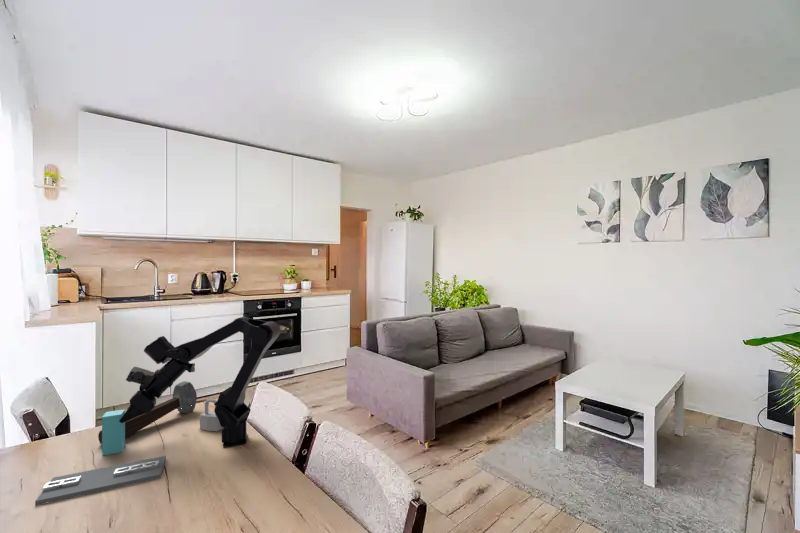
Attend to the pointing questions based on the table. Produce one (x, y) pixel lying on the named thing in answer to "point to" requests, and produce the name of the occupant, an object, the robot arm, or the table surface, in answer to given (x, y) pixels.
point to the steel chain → (117, 473)
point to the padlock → (209, 418)
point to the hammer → (163, 409)
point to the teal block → (113, 432)
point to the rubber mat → (101, 480)
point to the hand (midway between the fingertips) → (124, 415)
